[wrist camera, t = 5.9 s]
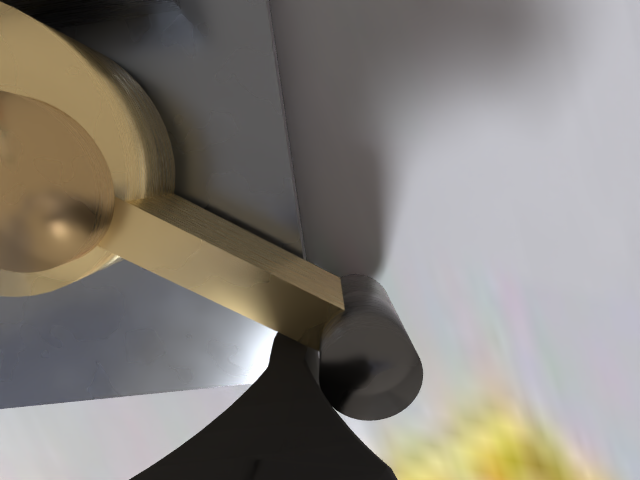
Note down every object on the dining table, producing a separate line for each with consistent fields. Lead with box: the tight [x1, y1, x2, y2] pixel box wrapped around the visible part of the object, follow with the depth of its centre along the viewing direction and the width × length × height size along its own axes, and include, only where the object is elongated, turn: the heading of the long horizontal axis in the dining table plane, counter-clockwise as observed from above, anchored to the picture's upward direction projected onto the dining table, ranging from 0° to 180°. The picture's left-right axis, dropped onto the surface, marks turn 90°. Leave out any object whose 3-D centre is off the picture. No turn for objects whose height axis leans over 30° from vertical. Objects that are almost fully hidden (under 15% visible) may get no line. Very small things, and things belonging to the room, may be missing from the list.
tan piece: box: [0, 1, 423, 421], centre depth 8 cm, size 15×7×4 cm, turn 62°
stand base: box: [0, 0, 319, 409], centre depth 9 cm, size 16×16×3 cm
